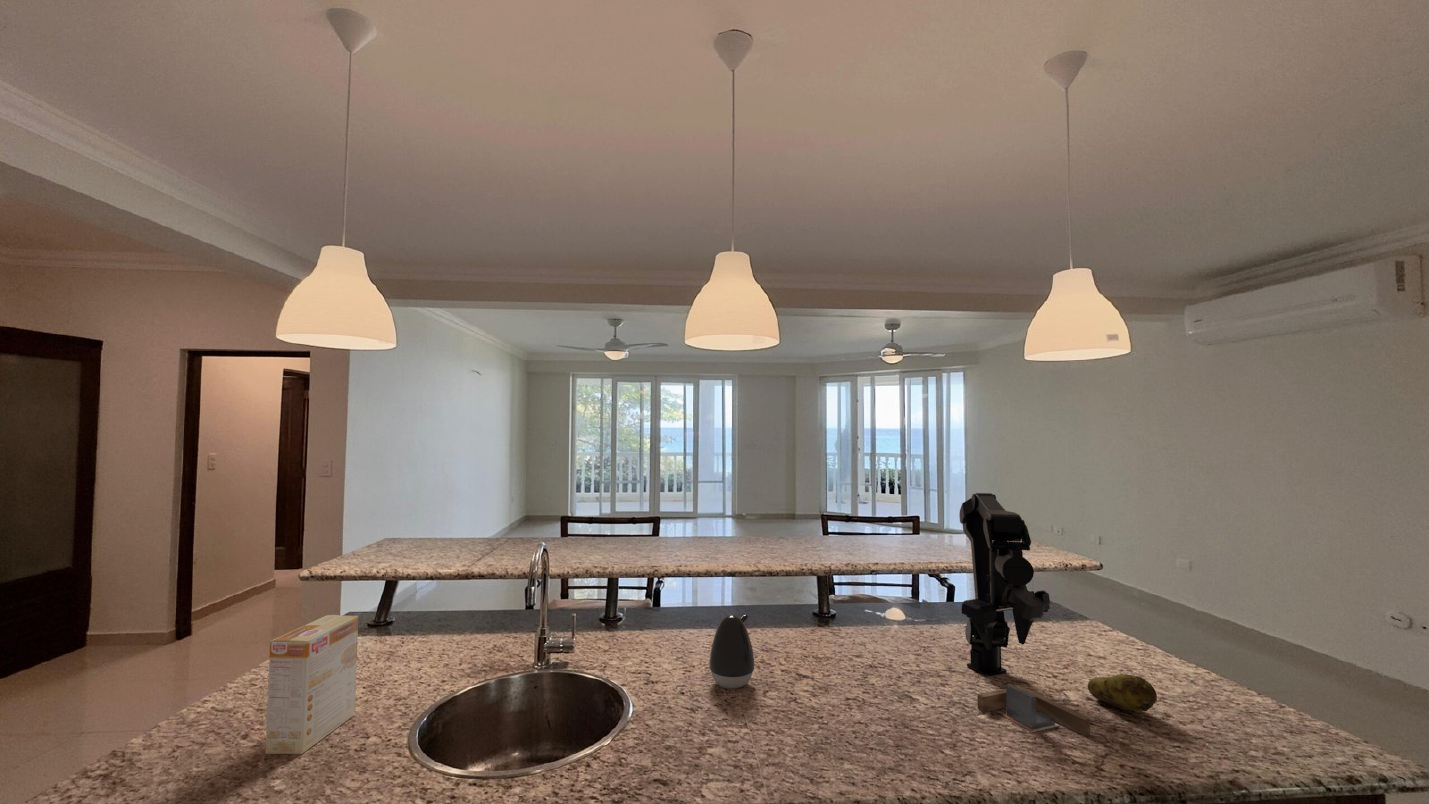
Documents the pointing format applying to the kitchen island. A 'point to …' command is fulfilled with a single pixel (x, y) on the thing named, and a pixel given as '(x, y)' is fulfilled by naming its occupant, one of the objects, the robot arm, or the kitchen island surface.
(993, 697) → the wooden l-shaped block
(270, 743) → the coffeecake box
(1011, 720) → the pad
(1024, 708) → the bracket
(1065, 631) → the kitchen island surface
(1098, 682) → the potato
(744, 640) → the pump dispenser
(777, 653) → the kitchen island surface
